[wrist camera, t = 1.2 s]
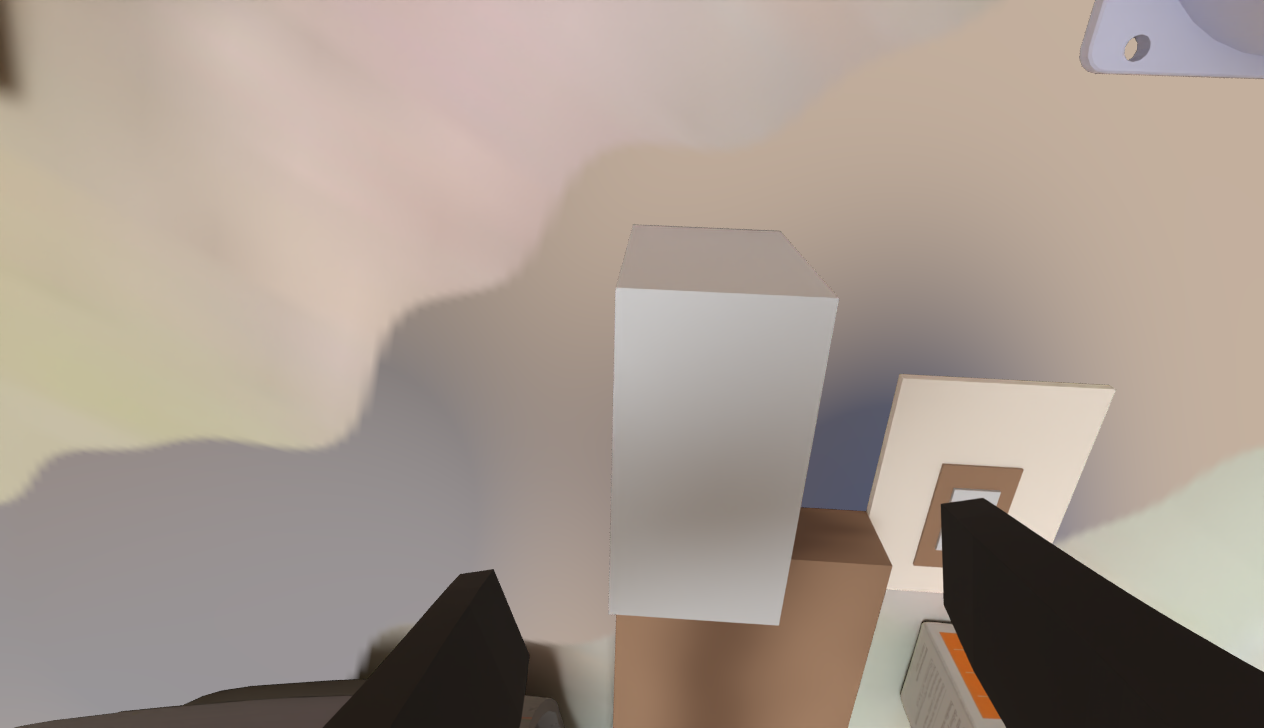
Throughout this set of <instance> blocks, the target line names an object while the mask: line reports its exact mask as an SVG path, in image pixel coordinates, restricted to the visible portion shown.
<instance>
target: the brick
mask: <svg viewBox="0 0 1264 728" xmlns="http://www.w3.org/2000/svg"><path fill="white" fill-rule="evenodd" d="M615 293H616V294H615V338H614V340H615V341H614V384H613V385H614V386H613V429H612V475H611V478H612V479H611V523H610V525H611V526H610V568H609V570H610V571H609V614H615V615H630V616H644V617H659V618H674V619H689V620H703V621H718V622H733V623H748V624H763V625H777V626H779V622H780V616H781V611H782V606H783V600H784V595H785V589H786V584H787V579H788V573H789V568H790V562H791V557H792V551H793V546H794V541H795V535H796V530H797V524H798V519H799V513H800V508H801V503H802V497H803V492H804V485H805V481H806V476H807V470H808V465H809V458H810V454H811V448H812V443H813V437H814V432H815V427H816V421H817V416H818V410H819V405H820V399H821V394H822V389H823V383H824V378H825V372H826V367H827V361H828V356H829V351H830V345H831V340H832V335H833V329H834V323H835V318H836V313H837V307H838V302H839V297H838V296H837V295H836V294H835V293H834V292H833V291H832V289H831V288H830V287H829V286H828V285H827V284H826V283H825V281H824V280H823V279H822V278H821V277H820V276H819V275H818V274H817V272H816V271H815V270H814V269H813V268H812V267H811V266H810V265H809V263H808V262H807V261H806V260H805V259H804V257H803V256H802V255H801V254H800V253H799V252H798V251H797V249H796V248H795V247H794V246H793V245H792V244H791V242H790V241H789V240H788V239H787V238H786V237H785V236H784V235H783V233H782V232H781V231H774V230H752V229H729V228H705V227H703V228H702V227H682V226H659V225H636V224H633V227H632V230H631V234H630V237H629V241H628V245H627V248H626V252H625V256H624V259H623V263H622V267H621V270H620V274H619V277H618V281H617V284H616V292H615Z"/></svg>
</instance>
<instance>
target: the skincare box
mask: <svg viewBox="0 0 1264 728" xmlns="http://www.w3.org/2000/svg"><path fill="white" fill-rule="evenodd" d="M901 701H902V704H903V707H904V710H905V713H906V715H907V718H908V720H909V723H910V726H911V728H1006V727H1005V725H1004V723H1003V721H1002V720H1001V718H1000V716H999V714H998V713H997V711H996V709H995V708H994V706H993V704H992V702H991V701H990V699H989V697H988V695H987V694H986V692H985V690H984V689H983V687H982V685H981V683H980V682H979V680H978V678H977V676H976V675H975V673H974V671H973V669H972V667H971V664H970V662H969V660H968V658H967V656H966V654H965V651H964V649H963V647H962V645H961V643H960V640H959V638H958V636H957V634H956V631H955V629H954V627H953V624H947V623H938V622H924V623H922V625H921V629H920V633H919V636H918V640H917V643H916V647H915V650H914V653H913V657H912V660H911V663H910V667H909V670H908V673H907V676H906V679H905V683H904V686H903V689H902V692H901Z"/></svg>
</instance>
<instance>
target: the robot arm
mask: <svg viewBox="0 0 1264 728" xmlns="http://www.w3.org/2000/svg"><path fill="white" fill-rule="evenodd" d="M1132 38H1135V39H1136V41H1137V43H1138V44H1137V51H1136V53H1135V54H1134V56H1133V57H1132V58H1131V59H1129V60H1127V59H1126V57H1125V55H1124V51H1125V47H1126V45H1127V43H1128V42H1129V40H1131V39H1132ZM1079 58H1080V61H1081V65H1082V66H1083V67H1084V68H1085V69H1086V70H1087V71H1088V72H1092V73H1095V74H1126V75H1157V76H1186V77H1187V76H1188V77H1219V78H1248V79H1264V0H1095V2H1094V6H1093V9H1092V12H1091V15H1090V19H1089V22H1088V25H1087V29H1086V32H1085V35H1084V39H1083V42H1082V45H1081V48H1080V56H1079ZM941 533H942V565H943V598H944V606H945V608H946V611H947V613H948V615H949V617H950V620H951V622H952V624H953V627H954V629H955V631H956V634H957V636H958V638H959V640H960V643H961V645H962V647H963V649H964V651H965V654H966V656H967V658H968V660H969V662H970V664H971V667H972V669H973V671H974V673H975V675H976V676H977V678H978V680H979V682H980V683H981V685H982V687H983V689H984V690H985V692H986V694H987V695H988V697H989V699H990V701H991V702H992V704H993V706H994V708H995V709H996V711H997V713H998V714H999V716H1000V718H1001V720H1002V721H1003V723H1004V725H1005V727H1006V728H1264V672H1262V671H1261V670H1259V669H1257V668H1255V667H1253V666H1251V665H1250V664H1248V663H1246V662H1244V661H1242V660H1241V659H1239V658H1237V657H1235V656H1234V655H1232V654H1230V653H1229V652H1227V651H1225V650H1223V649H1222V648H1220V647H1218V646H1216V645H1215V644H1213V643H1211V642H1209V641H1208V640H1206V639H1204V638H1203V637H1201V636H1199V635H1197V634H1196V633H1194V632H1192V631H1190V630H1189V629H1187V628H1185V627H1184V626H1182V625H1180V624H1178V623H1177V622H1175V621H1173V620H1172V619H1170V618H1168V617H1167V616H1165V615H1163V614H1162V613H1160V612H1158V611H1157V610H1155V609H1153V608H1152V607H1150V606H1148V605H1147V604H1145V603H1144V602H1142V601H1140V600H1139V599H1137V598H1135V597H1134V596H1132V595H1131V594H1129V593H1127V592H1126V591H1124V590H1123V589H1121V588H1120V587H1118V586H1116V585H1115V584H1113V583H1112V582H1110V581H1108V580H1107V579H1105V578H1104V577H1102V576H1101V575H1099V574H1097V573H1096V572H1094V571H1093V570H1091V569H1090V568H1088V567H1087V566H1085V565H1084V564H1082V563H1080V562H1079V561H1077V560H1076V559H1074V558H1073V557H1071V556H1070V555H1068V554H1067V553H1065V552H1064V551H1062V550H1061V549H1059V548H1058V547H1056V546H1055V545H1053V544H1052V543H1050V542H1049V541H1047V540H1046V539H1044V538H1043V537H1041V536H1040V535H1038V534H1037V533H1035V532H1034V531H1032V530H1031V529H1029V528H1028V527H1026V526H1025V525H1023V524H1022V523H1020V522H1019V521H1018V520H1016V519H1015V518H1013V517H1012V516H1010V515H1009V514H1007V513H1006V512H1004V511H1003V510H1001V509H1000V508H998V507H997V506H995V505H994V504H992V503H991V502H989V501H988V500H986V499H985V498H977V499H970V500H964V501H957V502H950V503H943V504H941ZM528 664H529V653H528V651H527V648H526V646H525V643H524V641H523V639H522V637H521V634H520V631H519V629H518V627H517V624H516V622H515V620H514V617H513V615H512V612H511V610H510V607H509V605H508V603H507V600H506V598H505V595H504V593H503V591H502V588H501V586H500V583H499V581H498V579H497V576H496V574H495V572H494V569H492V570H486V571H479V572H472V573H465V574H460V575H459V576H458V577H457V578H456V579H455V580H454V581H453V582H452V583H451V584H450V585H449V587H448V588H447V589H446V590H445V591H444V592H443V593H442V595H441V596H440V597H439V598H438V599H437V600H436V601H435V602H434V604H433V605H432V606H431V607H430V608H429V609H428V611H427V612H426V613H425V614H424V615H423V617H422V618H421V619H420V620H419V621H418V622H417V623H416V624H415V626H414V627H413V628H412V629H411V630H410V631H409V633H408V634H407V635H406V636H405V637H404V638H403V639H402V641H401V642H400V643H399V644H398V645H397V646H396V647H395V649H394V650H393V651H392V652H391V653H390V654H389V655H388V657H387V658H386V659H385V660H384V661H383V662H382V663H381V665H380V666H379V667H378V668H377V669H376V670H375V671H374V673H373V674H372V675H371V676H370V677H369V678H368V679H367V680H366V682H365V683H364V684H363V685H362V686H361V687H360V688H359V689H358V690H357V691H356V692H355V694H354V695H353V696H352V697H351V698H350V699H349V700H348V701H347V702H346V703H345V704H344V705H343V706H342V707H341V708H340V710H339V711H338V712H337V713H336V714H335V715H334V716H333V717H332V718H331V719H330V720H329V721H328V722H327V723H326V724H325V725H324V727H323V728H519V727H520V723H521V718H522V711H523V704H524V697H525V690H526V681H527V673H528Z"/></svg>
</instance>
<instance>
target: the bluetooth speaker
mask: <svg viewBox="0 0 1264 728" xmlns="http://www.w3.org/2000/svg"><path fill="white" fill-rule="evenodd" d="M365 682H366V680H353V679H349V680H330V681H329V680H328V681H314V682H300V683H286V684H272V685H258V686H248V687H242V688H235V689H228V690H222V691H219V692H215V693H212V694H208V695H205V696H202V697H200V698H198V699H195V700H193V701H191V702H189V703H187V704H184V705H180V706H171V707H160V708H150V709H140V710H130V711H121V712H118V713H112V714H103V715H95V716H87V717H78V718H70V719H62V720H53V721H48V722H42V723H36V724H30V725H24V726H20V727H15V728H323V727H324V725H325V724H326V723H327V722H328V721H329V720H330V719H331V718H332V717H333V716H334V715H335V714H336V713H337V712H338V711H339V710H340V708H341V707H342V706H343V705H344V704H345V703H346V702H347V701H348V700H349V699H350V698H351V697H352V696H353V695H354V694H355V692H356V691H357V690H358V689H359V688H360V687H361V686H362V685H363V684H364V683H365ZM519 728H565V727H564V724H563V721H562V718H561V715H560V711H559V707H558V704H557V702H556V701H555V700H554V699H553V698H545V697H535V696H525V697H524V704H523V711H522V718H521V723H520V727H519Z"/></svg>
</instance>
